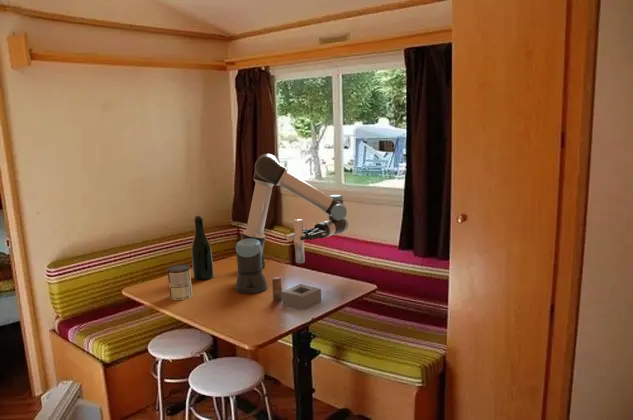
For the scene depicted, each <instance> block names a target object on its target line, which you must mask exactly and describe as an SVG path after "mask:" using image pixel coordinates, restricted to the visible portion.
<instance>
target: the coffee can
mask: <svg viewBox="0 0 633 420" xmlns="http://www.w3.org/2000/svg"><path fill="white" fill-rule="evenodd" d="M166 271H167V277H168V278H167V279H168V287H169V288H168V289H169V298H170V299H171V300H173V301H181V300H182V301H183V300H187V299H190V298H192V297H193V295H194V294H193V286H192V279H191V278H192V277H191V266H190V265H189V264H186V263H185V264H182V263H181V264H176V265H175V264H174V265H171V266H169V267H167V268H166Z"/></svg>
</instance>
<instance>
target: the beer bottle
mask: <svg viewBox="0 0 633 420" xmlns="http://www.w3.org/2000/svg"><path fill="white" fill-rule="evenodd" d="M193 223H194V237H193V241H192V244H191V260H192V261H191V262H192V264H191V265H192V276H193V279H194V280H196V281H207V280H210V279H213V277H214V276H215V275H214V274H215V273H214V261H213V254H212V252H213V251H212V247H211V244H210V242H209V240H208V237H207V235H206V232H205V227H204V218H203V217H202V215H195V216H194V222H193Z"/></svg>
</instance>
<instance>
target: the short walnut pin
mask: <svg viewBox="0 0 633 420" xmlns="http://www.w3.org/2000/svg"><path fill="white" fill-rule="evenodd" d="M271 282H272V283H271V284H272V298H273V299H272V300H273V302H275V301H276V302H277V303H278V302H281V301H282V291H283V290H282V277H278V276H276V277H272V278H271Z"/></svg>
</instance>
